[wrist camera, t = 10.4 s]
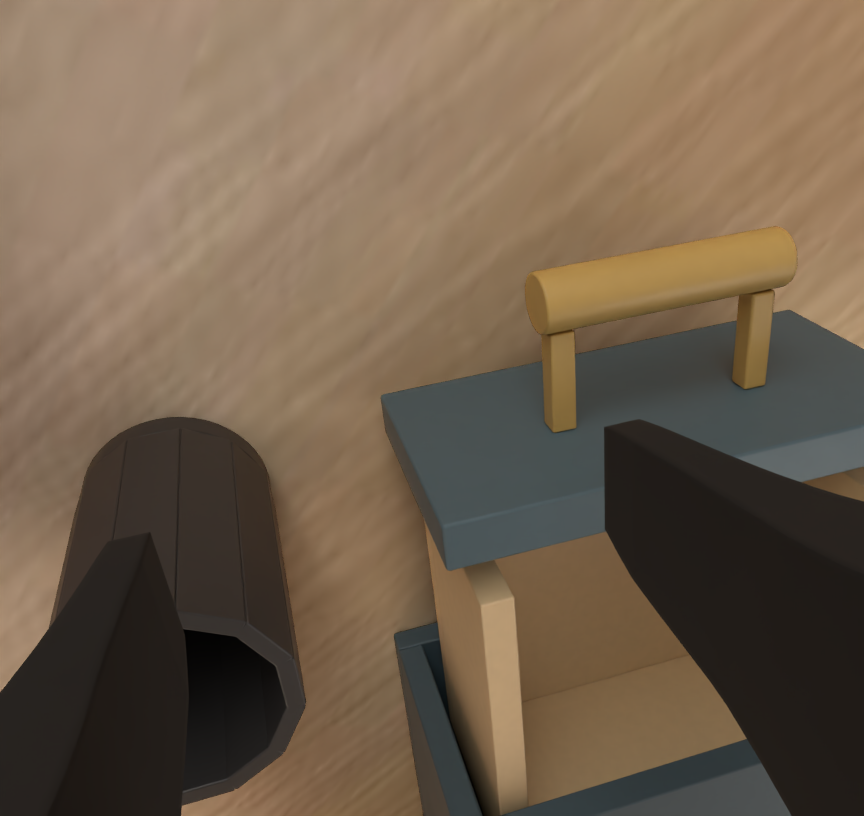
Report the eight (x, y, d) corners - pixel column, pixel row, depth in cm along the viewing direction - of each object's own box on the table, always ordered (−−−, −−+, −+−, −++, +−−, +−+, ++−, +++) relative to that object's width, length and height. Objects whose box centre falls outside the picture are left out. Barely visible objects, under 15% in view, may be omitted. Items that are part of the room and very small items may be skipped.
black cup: (249, 398, 22) (276, 586, 15) (285, 546, 24) (321, 765, 17) (56, 439, 21) (-11, 657, 14) (112, 588, 23) (79, 836, 17)
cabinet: (393, 632, 27) (463, 858, 20) (761, 536, 29) (938, 706, 22) (433, 880, 33) (497, 1115, 26) (732, 784, 36) (863, 976, 29)
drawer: (358, 253, 20) (420, 350, 15) (805, 174, 22) (1004, 233, 17) (427, 718, 28) (484, 894, 22) (752, 625, 30) (876, 766, 25)
